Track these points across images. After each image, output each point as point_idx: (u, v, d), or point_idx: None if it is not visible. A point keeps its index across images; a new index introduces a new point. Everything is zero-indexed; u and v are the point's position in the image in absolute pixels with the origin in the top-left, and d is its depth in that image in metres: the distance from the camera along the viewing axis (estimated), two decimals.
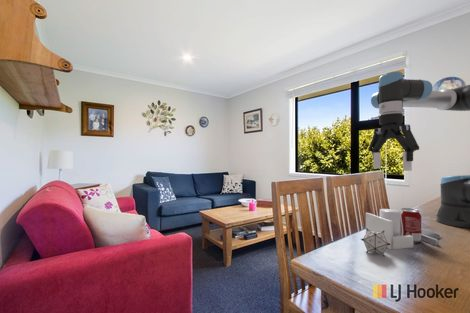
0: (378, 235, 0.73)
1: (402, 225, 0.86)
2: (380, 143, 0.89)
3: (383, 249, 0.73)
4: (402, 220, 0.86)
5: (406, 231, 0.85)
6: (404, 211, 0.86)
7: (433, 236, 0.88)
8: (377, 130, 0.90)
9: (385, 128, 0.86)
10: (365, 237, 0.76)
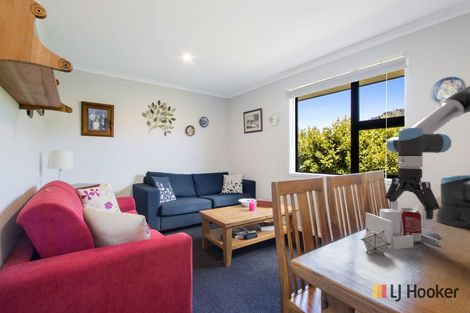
0: (378, 235, 0.73)
1: (402, 225, 0.86)
2: (398, 193, 0.90)
3: (383, 249, 0.73)
4: (402, 220, 0.86)
5: (406, 231, 0.85)
6: (404, 211, 0.86)
7: (433, 236, 0.88)
8: (395, 180, 0.91)
9: (404, 180, 0.87)
10: (365, 237, 0.76)
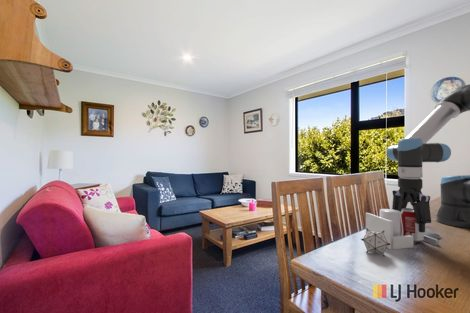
0: (378, 235, 0.73)
1: (402, 225, 0.86)
2: (402, 206, 0.89)
3: (383, 249, 0.73)
4: (402, 220, 0.86)
5: (406, 231, 0.85)
6: (404, 211, 0.86)
7: (433, 236, 0.88)
8: (395, 192, 0.91)
9: (403, 191, 0.88)
10: (365, 237, 0.76)
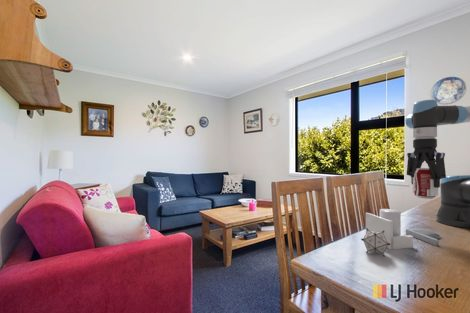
0: (378, 235, 0.73)
1: (417, 183, 0.91)
2: (417, 166, 0.94)
3: (383, 249, 0.73)
4: (417, 178, 0.91)
5: (421, 188, 0.90)
6: (419, 169, 0.91)
7: (433, 236, 0.88)
8: (410, 154, 0.96)
9: (418, 151, 0.93)
10: (365, 237, 0.76)
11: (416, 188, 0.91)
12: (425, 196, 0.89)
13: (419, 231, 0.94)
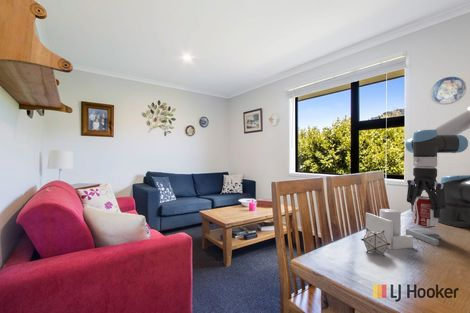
0: (378, 235, 0.73)
1: (417, 212, 0.91)
2: (417, 194, 0.94)
3: (383, 249, 0.73)
4: (417, 207, 0.91)
5: (421, 218, 0.90)
6: (419, 198, 0.91)
7: (433, 236, 0.88)
8: (410, 181, 0.97)
9: (418, 180, 0.93)
10: (365, 237, 0.76)
11: (416, 217, 0.92)
12: (425, 226, 0.89)
13: (419, 231, 0.94)
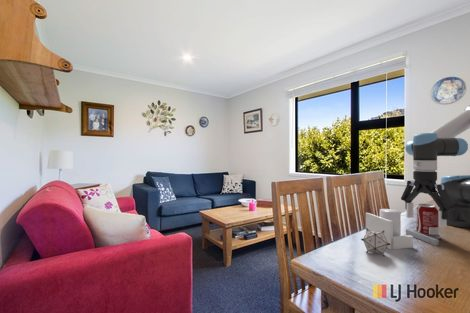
0: (378, 235, 0.73)
1: (419, 220, 0.90)
2: (413, 195, 0.95)
3: (383, 249, 0.73)
4: (419, 215, 0.90)
5: (423, 226, 0.89)
6: (421, 206, 0.90)
7: (433, 236, 0.88)
8: (410, 182, 0.97)
9: (419, 183, 0.92)
10: (365, 237, 0.76)
11: (418, 224, 0.91)
12: (427, 234, 0.88)
13: None
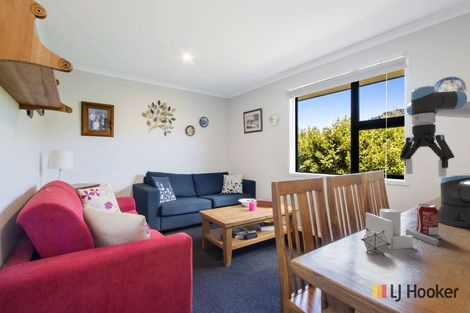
0: (378, 235, 0.73)
1: (419, 220, 0.90)
2: (412, 151, 0.97)
3: (383, 249, 0.73)
4: (419, 215, 0.90)
5: (423, 226, 0.89)
6: (421, 206, 0.90)
7: (433, 236, 0.88)
8: (409, 139, 0.98)
9: (418, 137, 0.94)
10: (365, 237, 0.76)
11: (418, 224, 0.91)
12: (427, 234, 0.88)
13: None
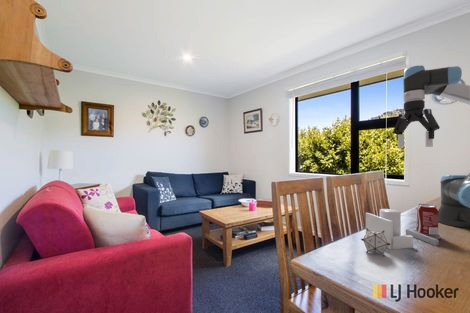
0: (378, 235, 0.73)
1: (419, 220, 0.90)
2: (404, 126, 1.06)
3: (383, 249, 0.73)
4: (419, 215, 0.90)
5: (423, 226, 0.89)
6: (421, 206, 0.90)
7: (433, 236, 0.88)
8: (401, 115, 1.07)
9: (409, 113, 1.03)
10: (365, 237, 0.76)
11: (418, 225, 0.91)
12: (427, 234, 0.88)
13: None
